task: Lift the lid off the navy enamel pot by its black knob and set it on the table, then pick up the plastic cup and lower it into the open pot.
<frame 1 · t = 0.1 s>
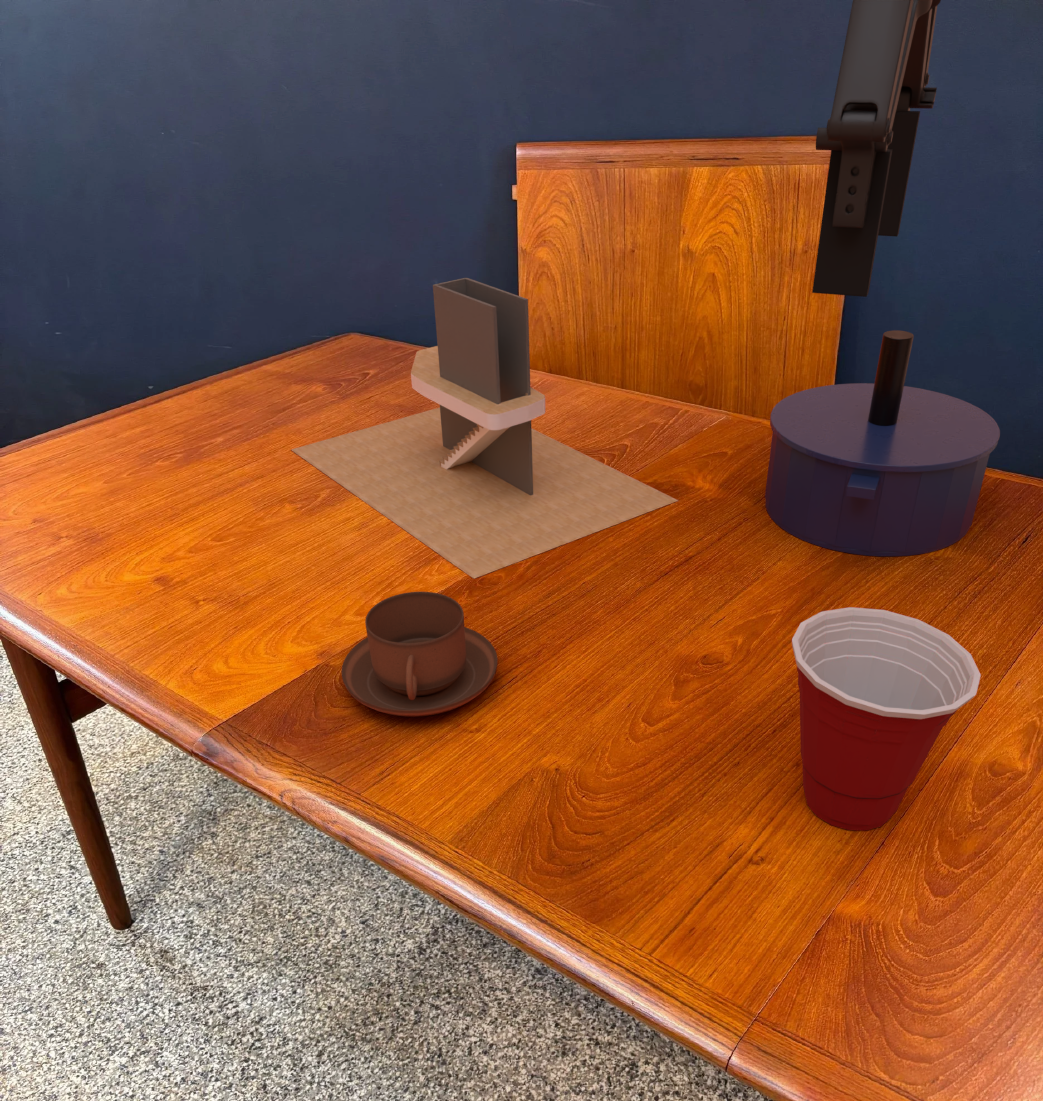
hand: (858, 261, 56), 31 cm above the table, tool pointing down, fingers open, 13 cm apart
pot: (865, 509, 100), on the table
architectural model: (472, 475, 110), on the table
pot lid: (881, 427, 95), point 8 cm above the table, touching pot
plastic cup: (852, 804, 66), on the table
cup and saucer: (422, 685, 79), on the table
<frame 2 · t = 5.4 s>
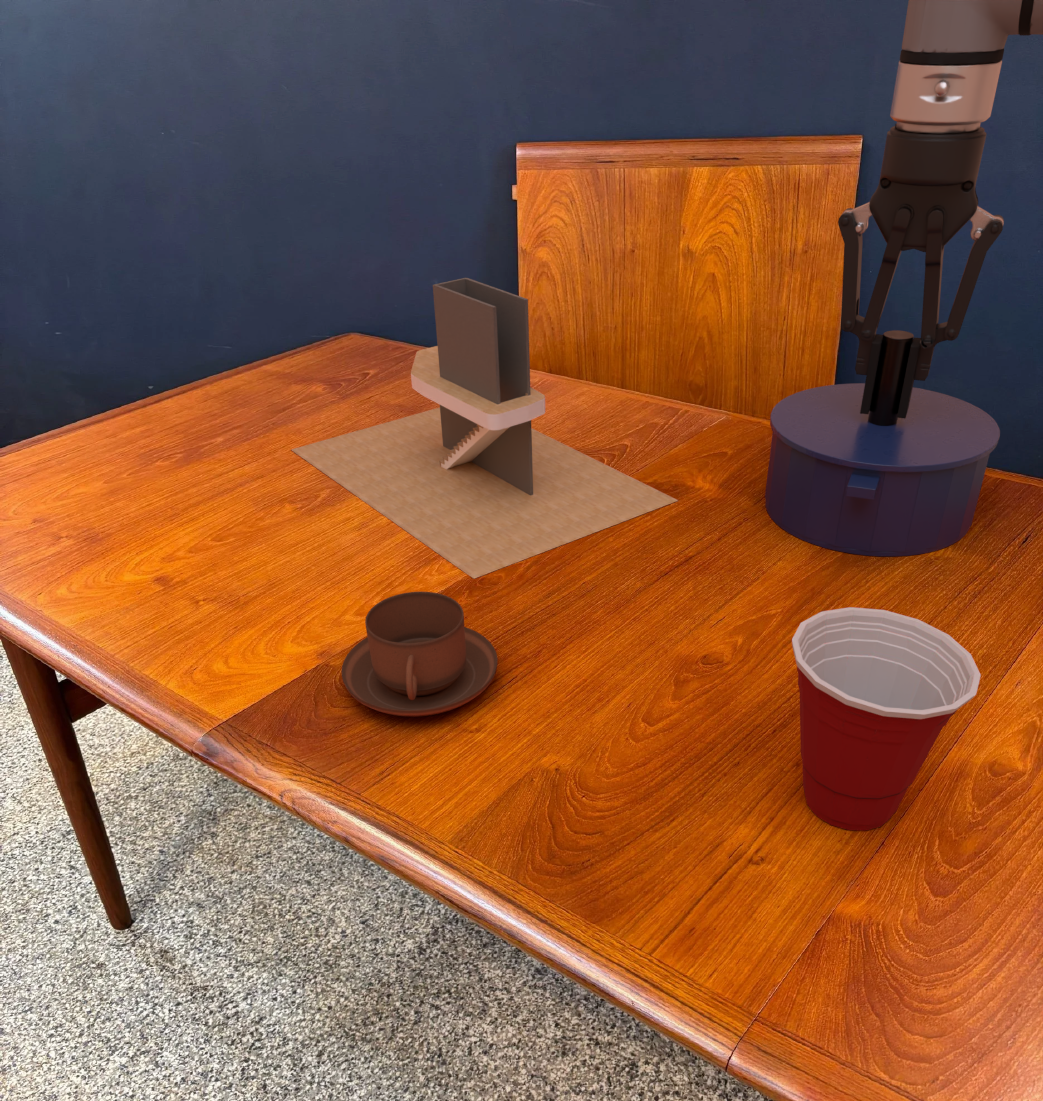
hand: (884, 410, 94), 10 cm above the table, tool pointing down, fingers closed on pot lid, 3 cm apart
pot lid: (881, 427, 95), point 8 cm above the table, touching gripper, pot
everything else where it was.
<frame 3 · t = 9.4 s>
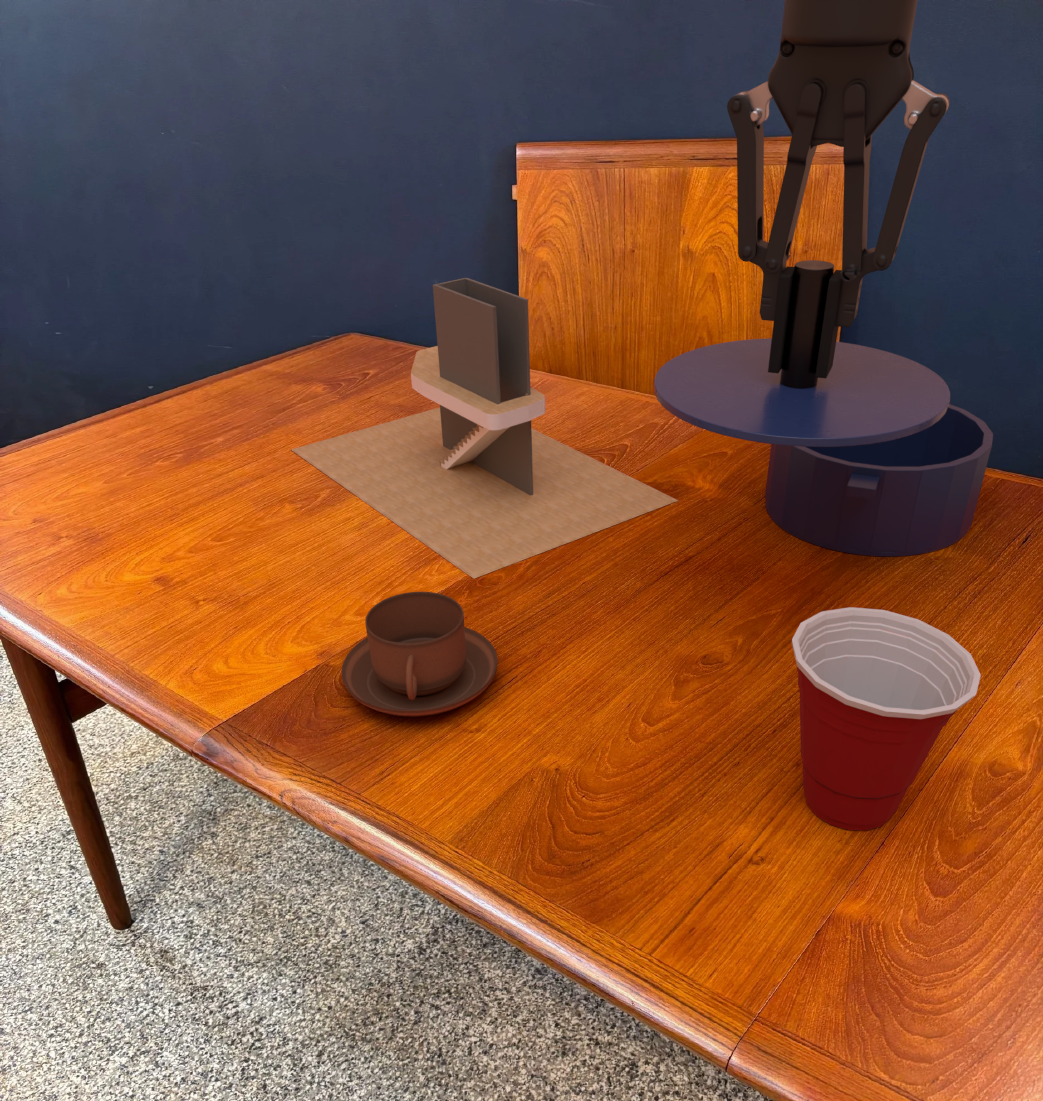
hand: (800, 368, 72), 21 cm above the table, tool pointing down, fingers closed on pot lid, 3 cm apart
pot lid: (797, 390, 73), point 20 cm above the table, touching gripper
everything else where it was.
when the fingers open (2 cm above the table, at t = 13.6 s): pot lid stays where it is, point 1 cm above the table.
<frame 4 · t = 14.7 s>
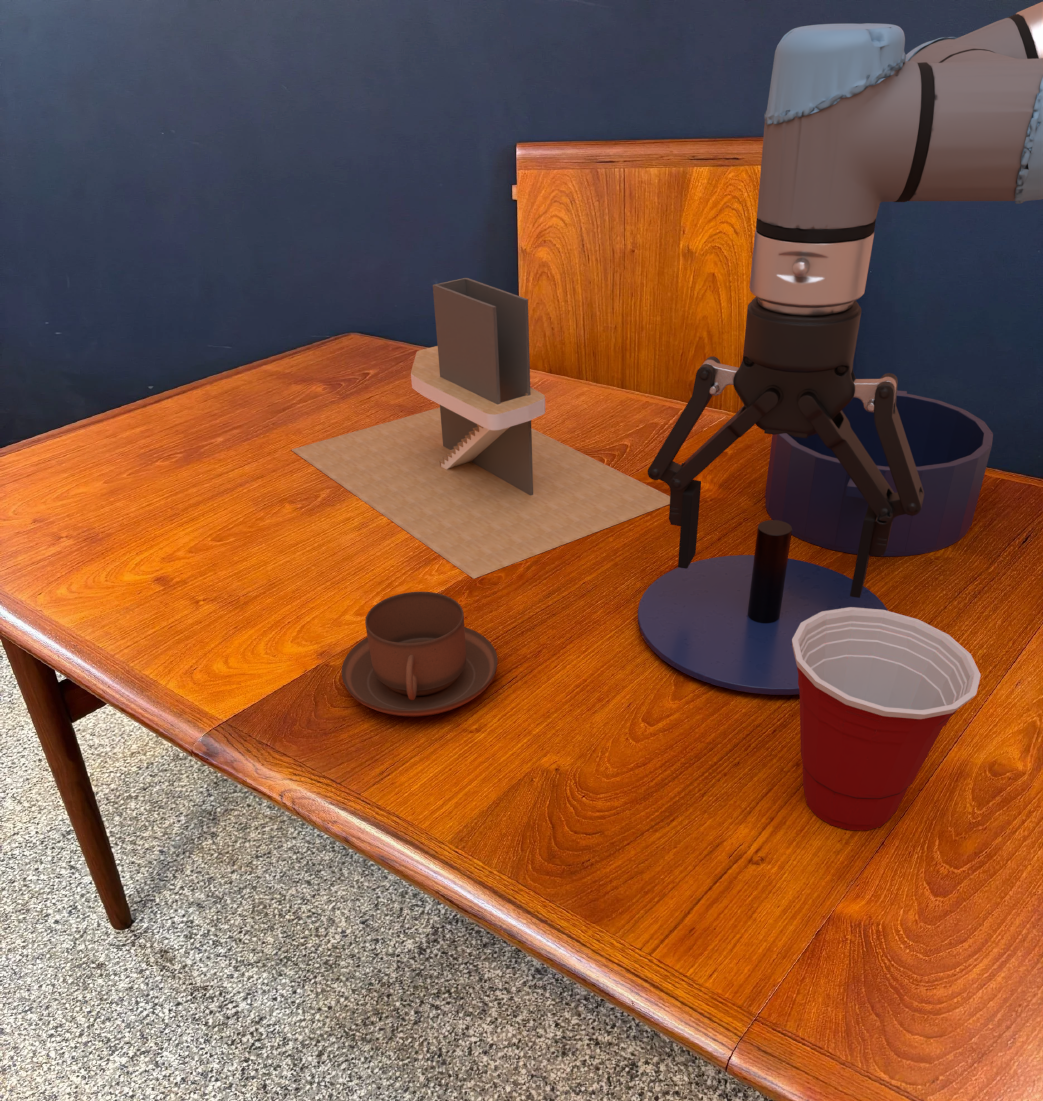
hand: (769, 574, 81), 5 cm above the table, tool pointing down, fingers open, 13 cm apart
pot lid: (762, 621, 83), point 1 cm above the table
everything else where it was.
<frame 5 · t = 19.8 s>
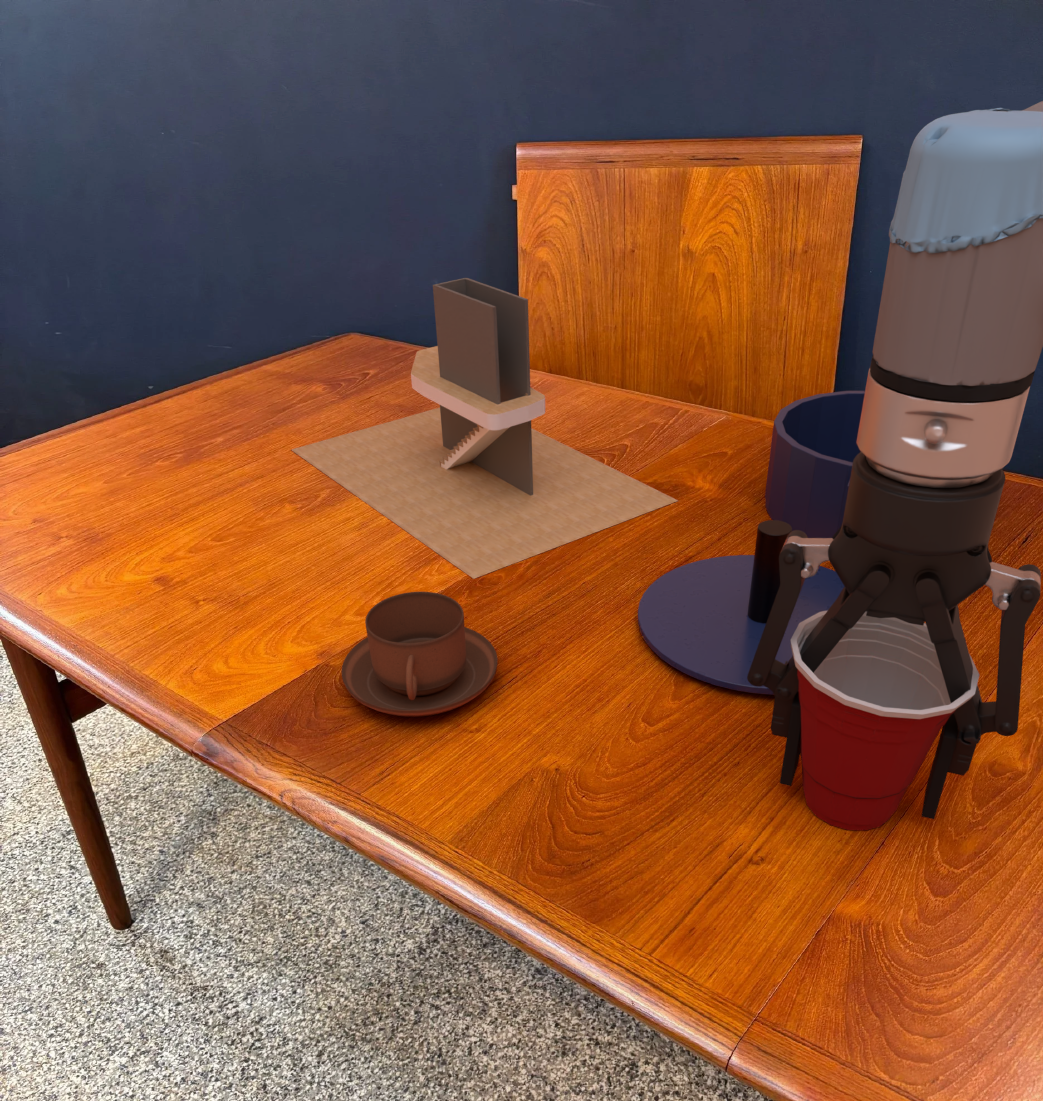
hand: (857, 787, 66), 1 cm above the table, tool pointing down, fingers closed on plastic cup, 8 cm apart
plastic cup: (851, 804, 67), on the table, touching gripper
everything else where it was.
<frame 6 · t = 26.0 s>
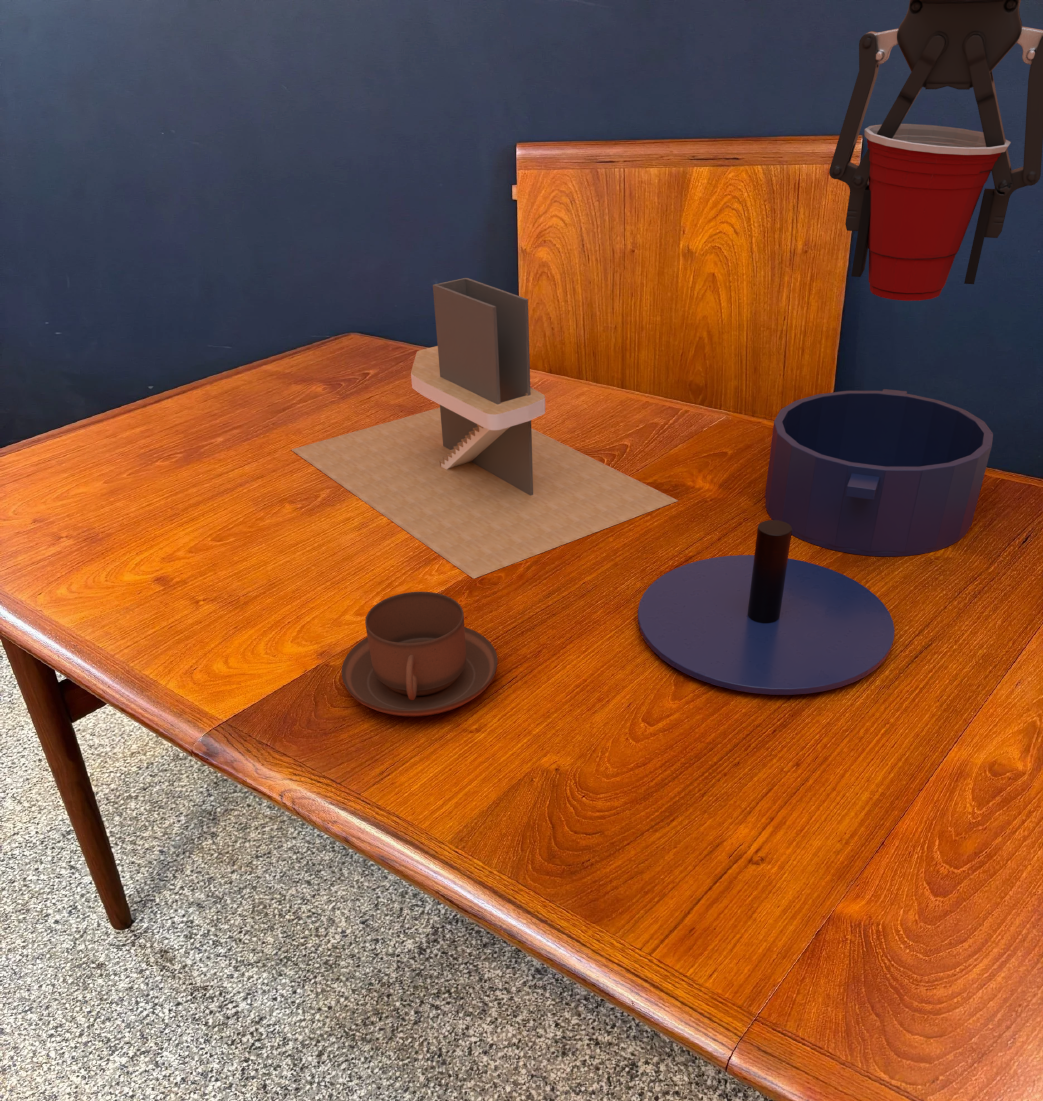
hand: (913, 275, 84), 23 cm above the table, tool pointing down, fingers closed on plastic cup, 8 cm apart
plastic cup: (907, 294, 85), point 22 cm above the table, touching gripper
everything else where it was.
when the fingers open (2 cm above the table, at t = 32.4 s): plastic cup stays where it is, resting on pot.
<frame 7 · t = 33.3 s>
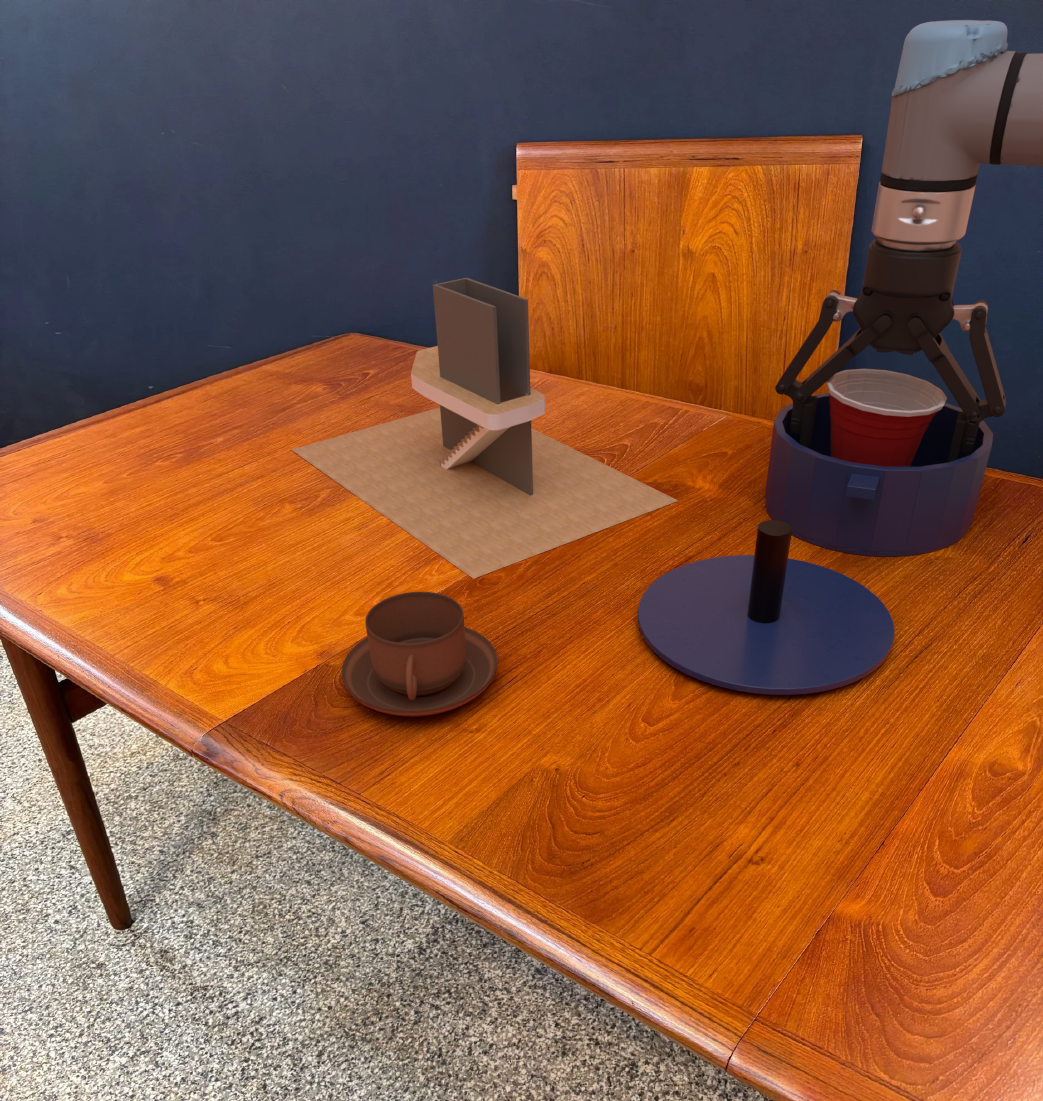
hand: (872, 474, 98), 4 cm above the table, tool pointing down, fingers open, 13 cm apart
plastic cup: (864, 506, 100), resting on pot
everything else where it was.
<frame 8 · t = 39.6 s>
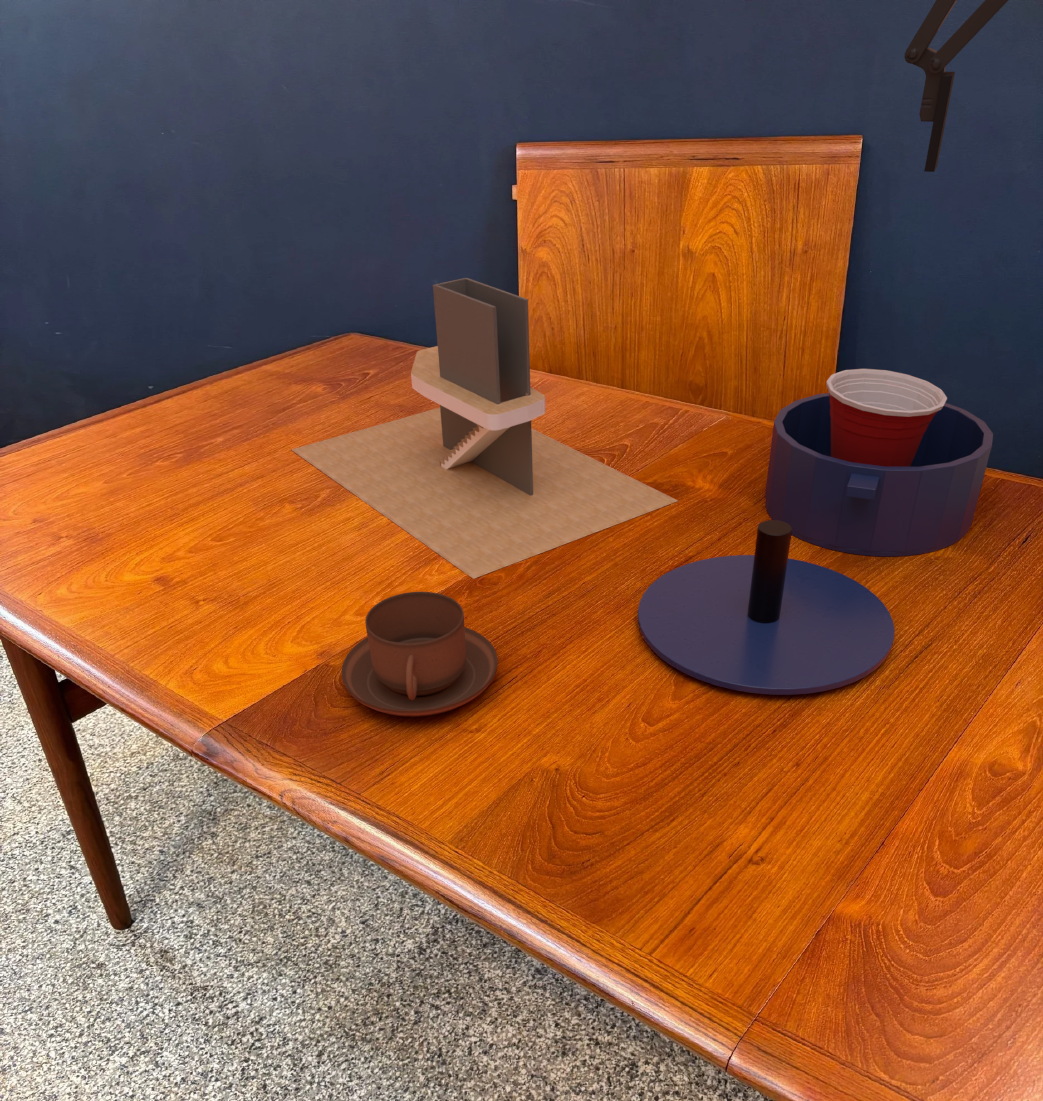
hand: (1022, 172, 78), 31 cm above the table, tool pointing down, fingers open, 13 cm apart
nothing on the table moved.
at the end: pot lid inside the target area (0.0 cm from its centre), point 0.6 cm above the table; plastic cup inside the target area in the pot (0.2 cm from its centre), point 0.3 cm above the pot's base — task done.
